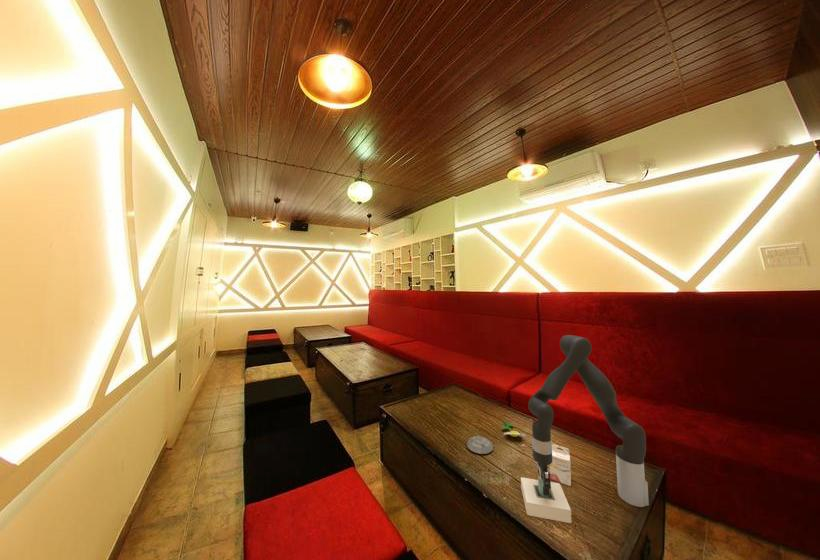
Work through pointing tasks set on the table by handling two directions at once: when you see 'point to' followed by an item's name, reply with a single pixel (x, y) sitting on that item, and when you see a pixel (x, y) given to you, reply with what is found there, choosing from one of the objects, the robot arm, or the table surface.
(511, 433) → the decorative flower
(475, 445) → the flying saucer
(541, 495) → the peg
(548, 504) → the socket board
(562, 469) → the ink cartridge box
